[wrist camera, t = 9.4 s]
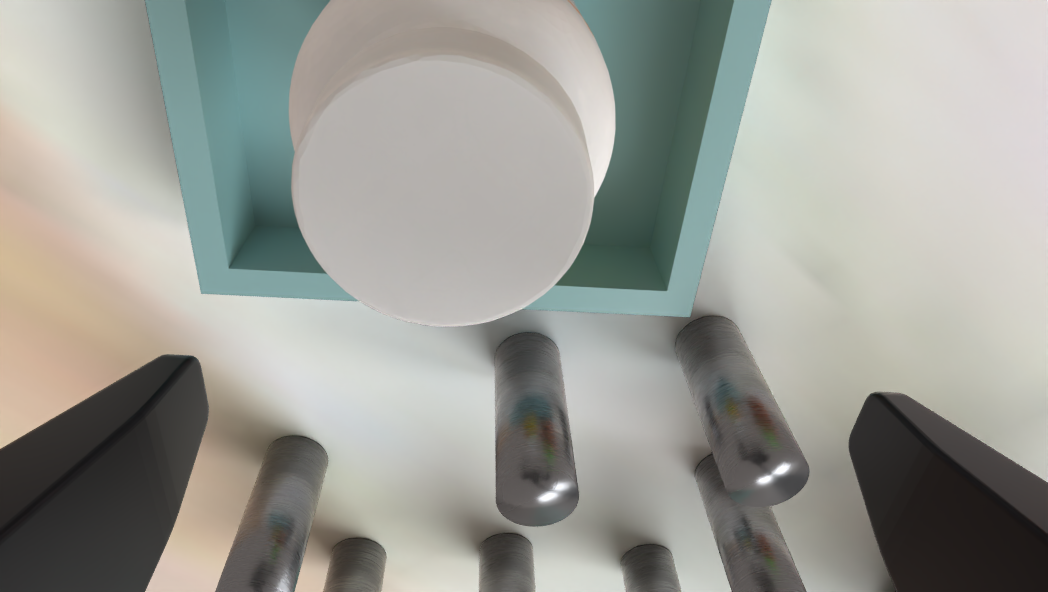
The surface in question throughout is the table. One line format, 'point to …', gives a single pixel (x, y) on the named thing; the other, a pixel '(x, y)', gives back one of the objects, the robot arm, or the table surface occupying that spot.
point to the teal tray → (619, 206)
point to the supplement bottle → (448, 151)
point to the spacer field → (560, 479)
